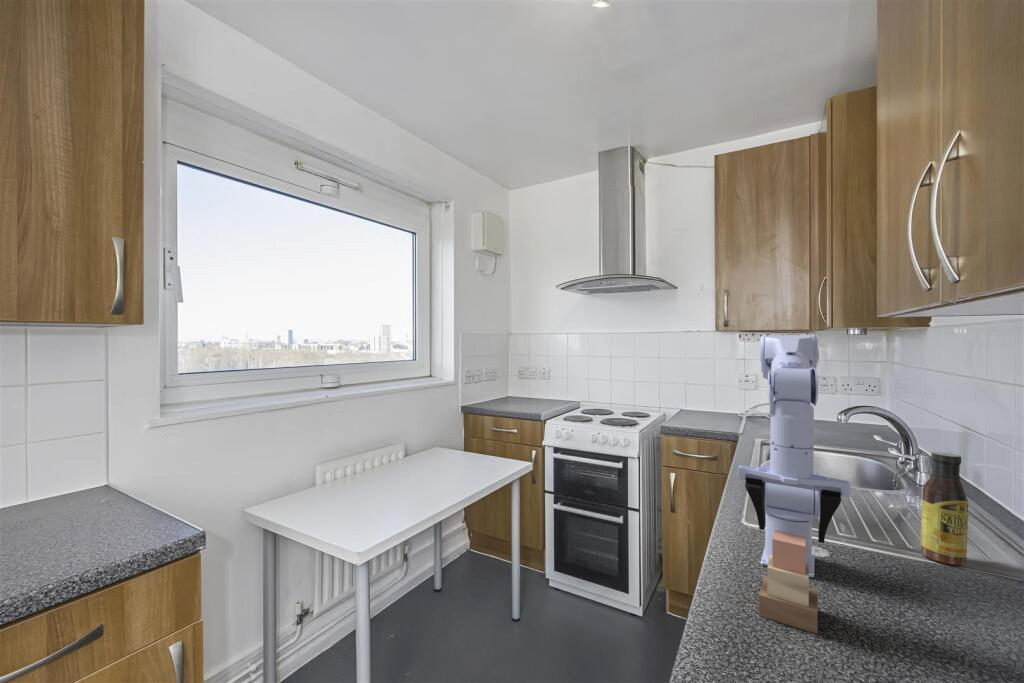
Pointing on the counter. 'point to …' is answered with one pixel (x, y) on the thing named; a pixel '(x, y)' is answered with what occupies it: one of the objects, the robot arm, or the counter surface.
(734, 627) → the counter surface
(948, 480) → the sauce bottle
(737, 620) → the counter surface
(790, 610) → the walnut base
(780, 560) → the terracotta block
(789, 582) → the maple block
